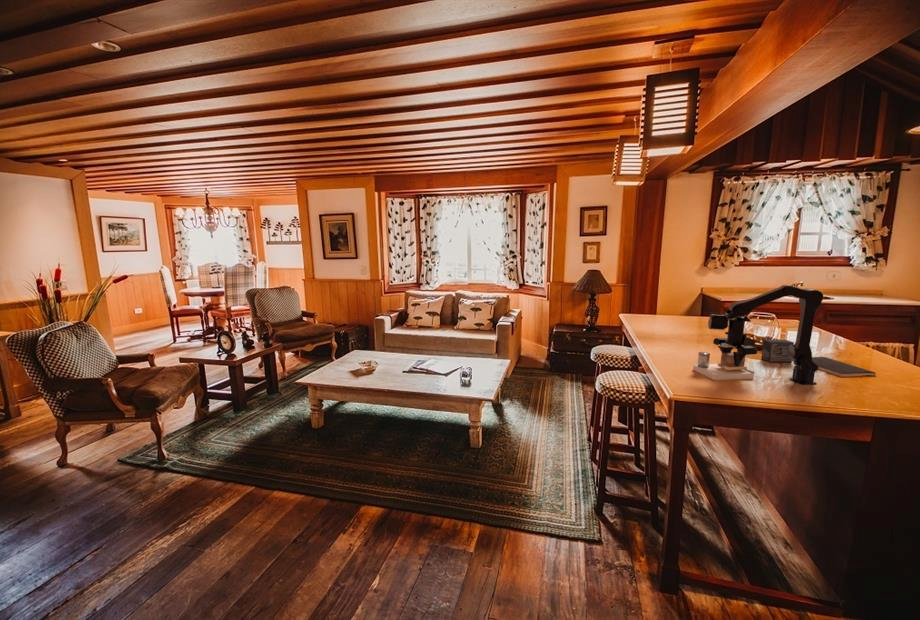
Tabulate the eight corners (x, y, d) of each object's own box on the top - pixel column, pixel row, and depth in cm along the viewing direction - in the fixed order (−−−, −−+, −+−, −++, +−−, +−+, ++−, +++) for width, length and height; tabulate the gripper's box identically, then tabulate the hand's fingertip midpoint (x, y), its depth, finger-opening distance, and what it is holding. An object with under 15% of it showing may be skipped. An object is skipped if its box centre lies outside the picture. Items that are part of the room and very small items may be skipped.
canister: (711, 367, 176) (712, 354, 175) (701, 368, 176) (702, 354, 175) (704, 364, 180) (705, 351, 179) (694, 365, 180) (696, 352, 179)
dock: (754, 378, 169) (755, 371, 168) (714, 380, 168) (715, 373, 167) (730, 368, 182) (730, 362, 182) (693, 369, 181) (693, 363, 181)
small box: (782, 359, 195) (785, 339, 193) (792, 363, 189) (795, 342, 187) (760, 358, 196) (762, 338, 194) (769, 362, 190) (771, 342, 188)
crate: (746, 369, 170) (748, 355, 169) (727, 370, 170) (728, 356, 169) (736, 365, 176) (737, 352, 175) (717, 365, 176) (718, 352, 175)
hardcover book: (839, 378, 169) (840, 373, 169) (793, 362, 192) (794, 357, 191) (875, 377, 170) (876, 372, 169) (824, 361, 192) (825, 356, 192)
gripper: (771, 334, 161) (766, 370, 164) (736, 325, 180) (733, 357, 183) (746, 335, 161) (742, 371, 163) (714, 326, 179) (710, 358, 182)
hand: (732, 364), depth 173 cm, fingers closed on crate, 5 cm apart
